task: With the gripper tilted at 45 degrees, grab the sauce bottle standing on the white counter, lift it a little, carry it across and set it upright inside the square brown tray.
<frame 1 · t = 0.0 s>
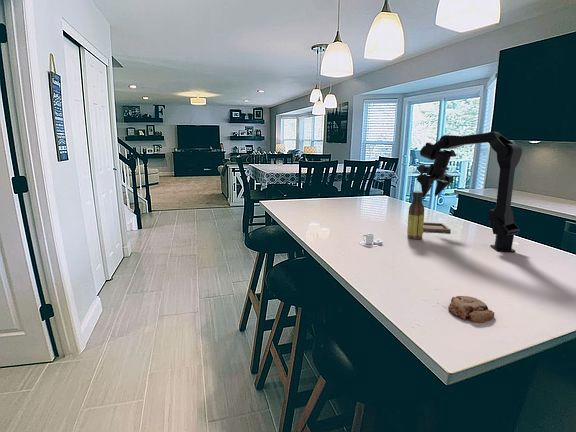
hand: (429, 196, 156), 15 cm above the kitchen island, tool pointing down, fingers open, 9 cm apart
square brown tray: (432, 228, 160), on the kitchen island
cookie: (468, 313, 83), on the kitchen island
sauce bottle: (414, 238, 144), on the kitchen island
teacup and saucer: (373, 247, 132), on the kitchen island
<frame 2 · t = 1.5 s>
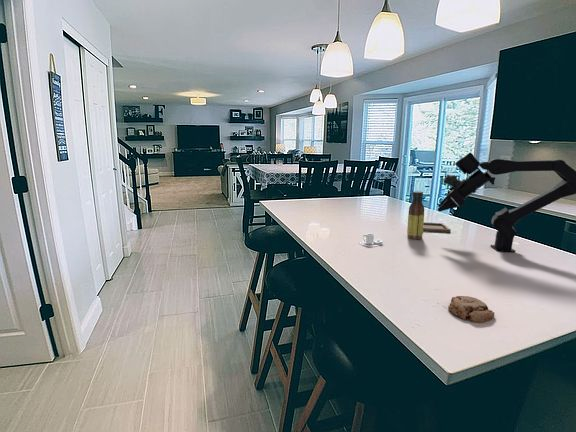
hand: (438, 208, 138), 14 cm above the kitchen island, tool tilted 45°, fingers open, 9 cm apart
nothing on the kitchen island moved.
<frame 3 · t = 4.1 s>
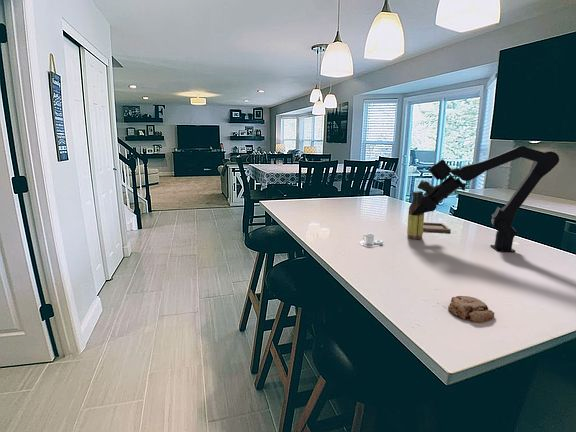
hand: (413, 213, 142), 11 cm above the kitchen island, tool tilted 45°, fingers closed on sauce bottle, 6 cm apart
sauce bottle: (414, 238, 144), on the kitchen island, touching gripper
everything else where it was.
when the fingers open (12 cm above the kitchen island, at t = 8.0 s): sauce bottle stays where it is, resting on square brown tray.
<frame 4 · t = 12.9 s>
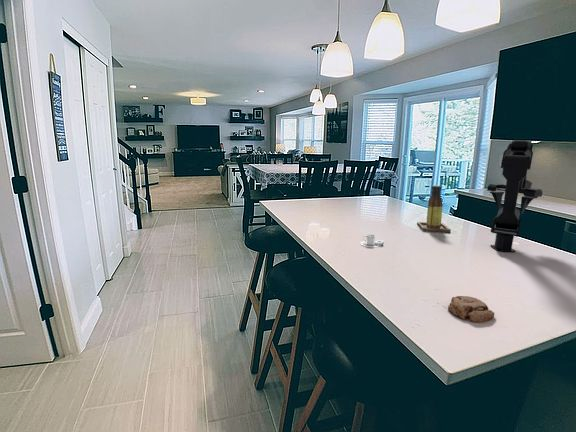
hand: (509, 210, 139), 13 cm above the kitchen island, tool pointing down, fingers open, 9 cm apart
sauce bottle: (432, 228, 159), resting on square brown tray
everything else where it was.
at the end: sauce bottle 0.2 cm off-centre on the square brown tray, point 0.3 cm above the square brown tray's base; sauce bottle tilted 0°; the gripper is holding nothing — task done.
